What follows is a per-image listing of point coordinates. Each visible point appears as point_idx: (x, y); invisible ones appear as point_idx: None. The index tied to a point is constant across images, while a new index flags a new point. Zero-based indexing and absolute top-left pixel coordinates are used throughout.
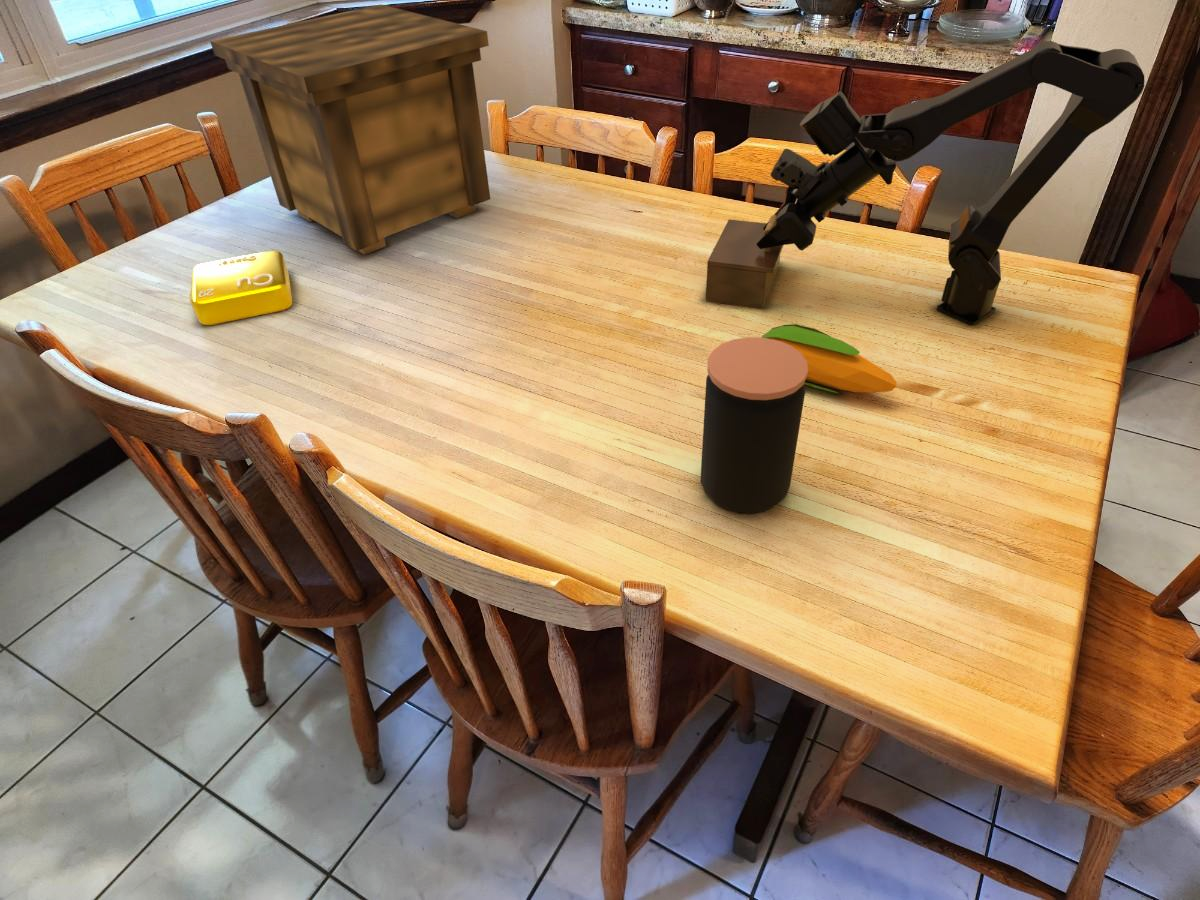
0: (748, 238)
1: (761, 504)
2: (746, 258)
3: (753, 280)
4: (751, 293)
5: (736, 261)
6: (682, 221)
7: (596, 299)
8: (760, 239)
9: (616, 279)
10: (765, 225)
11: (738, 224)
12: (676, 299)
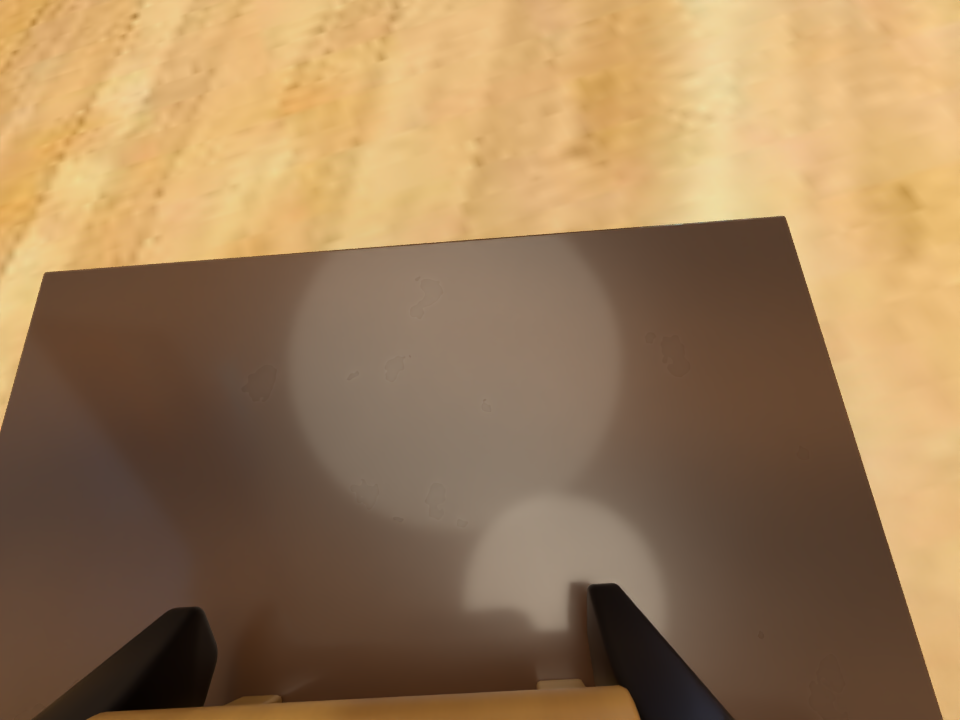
0: (486, 462)
1: None
2: (88, 549)
3: None
4: None
5: (31, 478)
6: (947, 67)
7: (174, 28)
8: (110, 665)
9: (331, 31)
10: (600, 611)
11: (726, 308)
12: None
